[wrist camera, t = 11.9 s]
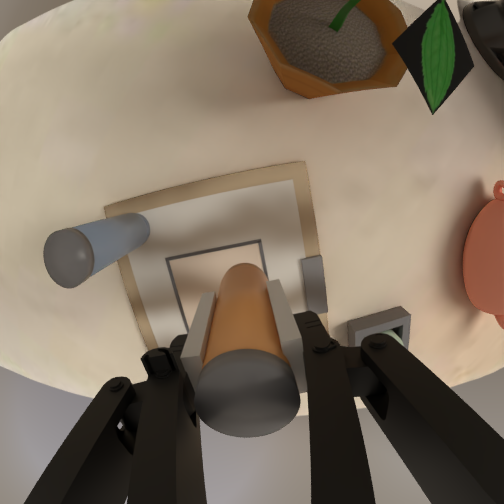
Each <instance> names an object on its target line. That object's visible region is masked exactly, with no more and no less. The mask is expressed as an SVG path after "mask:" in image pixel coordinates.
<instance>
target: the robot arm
mask: <svg viewBox="0 0 504 504" xmlns="http://www.w3.org/2000/svg"><path fill="white" fill-rule="evenodd" d="M463 18H464V22H465V25H466V27H467V30H468V32H469V34H470V36H471V38H472V40H473V42H474V43H475V45H476V47H477V48H478V50H479V52H480V53H481V55H482V56H483V57H484V59H485V60H486V62H487V63H488V64H489V65H490V67H491V68H492V69H493V70H494V71H495V72H496V73H497V74H498V75H499V76H500V77H501V78H502V79H503V80H504V0H493V1H479V2H473V3H471V4H469V5H468V6H466V7H465V8H464V10H463ZM266 284H267V289H268V294H269V298H270V302H271V306H272V310H273V314H274V319H275V323H276V327H277V331H278V335H279V340H280V344H281V348H282V352H283V354H284V355H285V356H286V358H287V359H288V361H289V363H290V365H291V369H292V371H293V373H294V375H295V379H296V383H297V387H298V391H299V394H300V393H304V392H307V393H308V410H309V430H310V454H311V455H310V456H311V504H376V503H375V498H374V491H373V485H372V480H371V474H370V469H369V465H368V459H367V454H366V449H365V445H364V440H363V435H362V431H361V427H360V422H359V418H358V413H357V409H356V405H355V401H354V397H360V398H361V400H362V401H363V403H364V404H365V406H366V407H367V409H368V410H369V412H370V413H371V414H372V416H373V418H374V419H375V420H376V422H377V423H378V425H379V426H380V428H381V429H382V431H383V432H384V434H385V435H386V437H387V438H388V440H389V441H390V442H391V444H392V446H393V447H394V448H395V450H396V451H397V453H398V454H399V456H400V457H401V459H402V460H403V462H404V463H405V465H406V466H407V468H408V469H409V470H410V472H411V473H412V475H413V477H414V478H415V480H416V481H417V482H418V484H419V486H420V487H421V489H422V490H423V492H424V493H425V495H426V496H427V498H428V499H429V501H430V502H431V504H504V439H503V438H502V437H501V436H500V435H499V434H498V433H497V432H496V431H495V430H494V429H493V428H492V427H491V426H490V425H489V424H487V423H486V422H485V421H484V420H483V419H482V418H481V417H480V416H479V415H478V414H477V413H476V412H475V411H474V410H473V409H472V408H471V407H470V406H469V405H468V404H466V403H465V402H464V401H463V400H462V399H461V398H460V397H459V396H458V395H457V394H456V393H455V392H454V391H453V390H451V389H450V388H449V387H448V386H447V385H446V384H445V383H444V382H443V381H442V380H441V379H439V378H438V377H437V376H436V375H435V374H434V373H433V372H432V371H431V370H430V369H428V368H427V367H426V366H425V365H424V364H423V363H422V362H421V361H420V360H418V359H417V358H416V357H415V356H414V355H413V354H412V353H411V352H409V351H408V350H407V349H406V348H405V347H404V346H403V345H402V344H400V343H399V342H398V341H397V340H396V339H395V338H394V337H392V336H390V335H389V334H384V333H375V334H371V335H368V336H367V337H365V338H364V339H363V340H362V341H361V346H357V347H344V346H340V344H339V343H338V341H336V340H334V339H332V338H330V336H329V334H328V332H327V331H326V329H325V327H324V325H323V324H322V322H321V320H320V318H319V316H318V315H317V314H316V313H314V312H312V311H311V310H310V311H306V312H301V313H296V314H293V313H292V311H291V308H290V306H289V303H288V301H287V298H286V295H285V293H284V290H283V288H282V285H281V283H280V280H279V279H276V280H271V281H266ZM216 302H217V297H216V293H215V291H213V292H208V293H202V296H201V299H200V301H199V304H198V307H197V310H196V313H195V316H194V319H193V321H192V324H191V327H190V330H189V333H188V334H182V335H177V336H176V337H175V338H174V339H173V340H172V342H171V344H170V348H167V347H158V348H155V349H152V350H150V351H148V352H146V353H145V354H144V355H143V356H142V358H141V361H142V363H143V365H144V367H145V370H146V372H147V374H148V379H147V381H144V382H140V383H136V384H133V385H132V383H131V381H130V379H128V378H127V377H115V378H112V379H111V380H109V381H107V382H106V383H105V384H104V385H103V387H102V388H101V389H100V391H99V392H98V394H97V395H96V396H95V398H94V399H93V400H92V402H91V403H90V405H89V406H88V407H87V409H86V411H85V412H84V413H83V415H82V416H81V417H80V419H79V420H78V422H77V423H76V425H75V426H74V428H73V429H72V430H71V432H70V433H69V435H68V436H67V438H66V439H65V440H64V442H63V444H62V445H61V446H60V448H59V449H58V451H57V452H56V454H55V455H54V457H53V458H52V460H51V462H50V463H49V464H48V466H47V467H46V469H45V471H44V472H43V474H42V475H41V477H40V479H39V480H38V482H37V483H36V485H35V486H34V488H33V489H32V491H31V493H30V494H29V496H28V498H27V499H26V501H25V503H24V504H124V503H125V501H126V498H127V496H128V499H127V504H207V500H206V491H205V482H204V472H203V461H202V448H201V435H200V419H199V416H198V414H197V412H196V410H195V406H194V397H195V392H196V387H197V382H198V378H199V375H200V372H201V370H202V366H203V362H204V357H205V352H206V348H207V343H208V338H209V333H210V329H211V324H212V320H213V315H214V310H215V306H216ZM119 422H121V423H122V425H123V426H122V428H121V429H119V428H118V427H117V425H118V424H119Z"/></svg>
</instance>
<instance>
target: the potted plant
mask: <svg viewBox="0 0 504 504" xmlns="http://www.w3.org/2000/svg"><path fill="white" fill-rule="evenodd" d="M248 19H249V20H250V22H251V24H252V26H253V28H254V30H255V32H256V34H257V36H258V38H259V40H260V42H261V44H262V46H263V48H264V50H265V52H266V54H267V56H268V58H269V61H270V63H271V65H272V67H273V69H274V71H275V72H276V74H277V75H278V77H279V79H280V80H281V82H282V84H283V85H284V87H285V88H286V89H288V90H290V91H293V92H295V93H297V94H299V95H302V96H304V97H306V98H308V99H311V98H317V97H323V96H328V95H334V94H340V93H347V92H353V91H361V90H368V89H377V88H387V87H397V85H398V84H399V82H400V80H401V79H402V77H403V75H404V73H405V72H406V70H407V68H408V70H409V71H410V73H411V75H412V77H413V78H414V80H415V82H416V84H417V86H418V87H419V89H420V91H421V93H422V95H423V97H424V99H425V101H426V103H427V105H428V107H429V109H430V111H431V113H432V115H433V114H434V113H435V112H436V111H437V110H438V108H439V107H440V106H441V105H442V104H443V103H444V101H445V100H446V99H447V98H448V97H449V96H450V94H451V93H452V92H453V91H454V90H455V89H456V87H457V86H458V85H459V84H460V83H461V81H462V80H463V79H464V78H465V77H466V75H467V74H468V73H469V72H470V71H471V69H472V68H473V67H474V64H473V61H472V58H471V56H470V53H469V50H468V48H467V45H466V43H465V40H464V38H463V35H462V33H461V31H460V29H459V26H458V24H457V22H456V20H455V18H454V16H453V14H452V12H451V10H450V8H449V6H448V4H447V2H446V0H437V1H436V2H435V3H433V4H432V5H431V6H430V7H429V8H428V9H427V10H426V11H425V12H424V13H423V14H422V15H421V16H420V17H418V18H417V19H416V20H415V21H414V22H413V23H412V24H411V25H410V26H409V27H408V28H407V25H406V23H405V20H404V18H403V15H402V13H401V10H399V9H398V8H397V7H396V6H395V5H394V4H393V3H391V2H390V1H389V0H254V1H253V3H252V6H251V9H250V12H249V14H248Z"/></svg>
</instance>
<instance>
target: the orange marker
mask: <svg viewBox="0 0 504 504" xmlns="http://www.w3.org/2000/svg"><path fill="white" fill-rule="evenodd" d="M266 281H269V280H268V278H267V276H266V275H265V273H264V272H263V271H262V270H261V269H260V268H259V267H258V266H256V265H254V264H251V263H239V264H236V265H234V266H232V267H231V268H230V269H228V271H227V272H226V273H225V275H224V277H223V278H222V281H221V284H220V288H219V292H218V297H217V302H216V306H215V310H214V315H213V320H212V324H211V329H210V333H209V338H208V343H207V348H206V352H205V357H204V362H203V366H202V370H201V372H200V375H199V378H198V382H197V387H196V392H195V397H194V406H195V410H196V412H197V414H198V416H199V417H200V419H201V420H202V421H203V422H204V423H205V424H207V425H208V426H209V427H210V428H212V429H214V430H216V431H218V432H220V433H223V434H226V435H230V436H235V437H259V436H264V435H268V434H271V433H274V432H276V431H278V430H280V429H281V428H283V427H285V426H286V425H287V424H289V423H290V422H291V421H292V420H293V419H294V417H295V416H296V414H297V413H298V410H299V408H300V395H299V391H298V387H297V383H296V379H295V375H294V373H293V371H292V369H291V365H290V363H289V361H288V359H287V358H286V356H285V355H284V354H283V352H282V348H281V344H280V340H279V335H278V331H277V327H276V323H275V319H274V314H273V310H272V306H271V302H270V298H269V294H268V289H267V284H266Z"/></svg>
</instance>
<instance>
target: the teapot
mask: <svg viewBox="0 0 504 504" xmlns="http://www.w3.org/2000/svg"><path fill="white" fill-rule="evenodd" d="M502 187H503V188H504V181H503V180H500V181H497V182H496V184H495V186H494V190H493V193H494V196H495V198H496V199H494V200H492V201H490V202H489V203H488V204H487V205H486V206H485V207H484V208H483V209H482V210H481V211H480V213H479V214H478V215H477V217H476V218H475V220H474V221H473V223H472V225H471V227H470V230H469V232H468V235H467V238H466V242H465V246H464V252H463V276H464V283H465V288H466V292H467V295H468V297H469V299H470V301H471V302H472V304H473V305H474V306H475V307H476V308H478V309H480V310H481V311H484V312H486V313H489V314H494V316H495V318H496V320H497V322H498V323H499V325H500V326H501V327H502V328H503V329H504V194H503V193H502Z"/></svg>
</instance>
